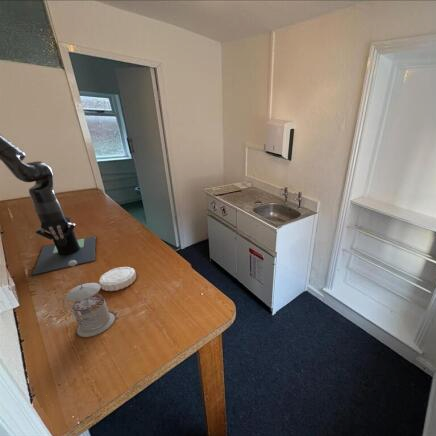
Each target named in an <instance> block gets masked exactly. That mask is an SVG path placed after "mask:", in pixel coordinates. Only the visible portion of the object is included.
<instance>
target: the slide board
mask: <svg viewBox="0 0 436 436" xmlns="http://www.w3.org/2000/svg"><path fill="white" fill-rule="evenodd" d="M77 241H78V244H79V246H80V247H81V248H80V250H79V251H77V252H75V253H72V254H68V255H59V254H58V251H57V248H56V246H55V243H53V244H47V245H43V246H42V248H41V251H40V253H39V256H38V259H37V262H36V264H35V267H34V269H33V272H32V276H36V275H41V274H42V275H43V274H45V273H49V272H55V271H57V270H62V269H63V270H64V269H67V268H70V267H72V266H69V265H68V262H69V261H71V260H75V261H76V262H77V264H76V265H74V267H75V266H79V265H83V264H88V263H91V262H95V261H96V236H89V237H84V238H79V239H77Z"/></svg>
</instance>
